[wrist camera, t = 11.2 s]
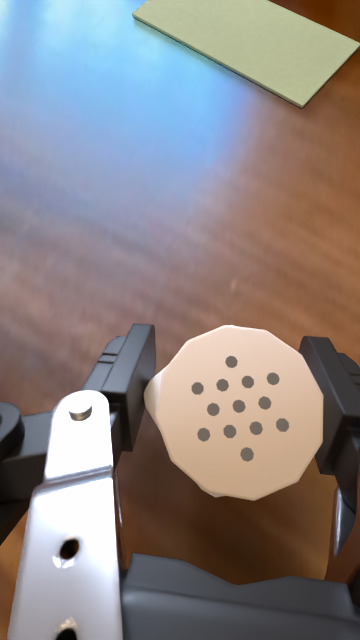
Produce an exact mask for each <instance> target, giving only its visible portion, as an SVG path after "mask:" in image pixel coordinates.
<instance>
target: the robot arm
mask: <svg viewBox="0 0 360 640" xmlns="http://www.w3.org/2000/svg"><path fill="white" fill-rule="evenodd" d="M298 353H300V354H301V355H302V356H303V358H304V360H305V362H306V364H307V365H308V367H309V369H310V371H311V373H312V375H313V377H314V379H315V381H316V382H317V384H318V386H319V388H320V390H321V392H322V394H323V443H322V444H321V446H320V447H319V449H318V451H317V452H316V454H315V455H314V456H315V459H316V462H317V466H318V469H319V472H320V474H327V475H335V477H336V480H337V483H338V485H337V487H336V489H335V492H334V498H333V511H332V523H331V536H330V548H329V560H328V566H327V571H326V575H325V578H324V580H317V579H310V578H303V577H296V576H287V577H282V578H277V579H271V580H266V581H261V582H255V583H250V584H245V585H234V584H232V583H229V582H227V581H225V580H223V579H221V578H219V577H217V576H215V575H213V574H210V573H208V572H206V571H204V570H202V569H200V568H198V567H196V566H194V565H192V564H190V563H187V562H185V561H183V560H179V559H172V558H165V557H158V556H151V555H144V554H137V553H132V555H131V560H130V564H129V569H127V563H126V554H125V546H124V536H123V526H122V514H121V503H120V491H119V480H118V469H117V464H118V461H119V458H120V455H121V452H122V451H128V452H132V451H133V447H134V444H135V440H136V437H137V433H138V430H139V427H140V423H141V420H142V416H143V413H144V409H145V402H144V395H143V393H144V391H145V389H146V387H147V385H148V383H149V381H150V380H151V379H152V378H153V377H154V374H155V368H156V346H155V327H154V325H148V324H133V325H132V327H131V329H130V331H129V333H128V335H127V337H126V336H117V337H116V338H115V339H113V340H112V341H110V342H109V343H108V344H107V346H106V347H105V349H104V351H103V352H102V355H101V356H100V358H99V359H98V363H96V365H95V366H94V368H93V370H92V371H91V373H90V375H89V377H88V378H87V380H86V382H85V383H84V385H83V387H82V389H81V390H80V392H76V393H73V394H71V395H68V396H67V397H65V398H64V399H62V400H61V401H60V402H59V403H58V404H57V405H56V407H55V408H54V410H53V411H49V412H44V413H38V414H32V415H25V416H21V414H20V412H19V409H18V408H17V407H16V406H15V405H13V404H11V403H6V402H0V546H1V544H2V543H3V542H4V540H5V539H6V538H7V536H8V535H9V534H10V532H11V531H12V530H13V528H14V527H15V526H16V524H17V523H18V522H19V520H20V519H21V518H22V516H23V515H24V514H25V512H26V511H27V510H28V509H29V512H28V518H27V523H26V529H25V535H24V541H23V547H22V553H21V559H20V565H19V571H18V577H17V583H16V589H15V594H14V600H13V606H12V612H11V618H10V624H9V630H8V636H7V640H360V368H359V366H358V365H357V363H355V362H354V361H353V360H352V359H350V358H349V357H348V356H347V355H345V354H344V353H337V351H336V350H335V348H334V346H333V344H332V343H331V341H330V339H329V338H326V337H312V336H304V337H303V338H302V341H301V344H300V348H299V352H298Z"/></svg>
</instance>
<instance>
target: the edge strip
mask: <svg viewBox="0 0 360 640" xmlns="http://www.w3.org/2000/svg"><path fill="white" fill-rule="evenodd" d="M132 16H133V17H134V18H136V19H138V20H140V21H142V22H144V23H145V24H147V25H149V26H151V27H153V28H155V29H157V30H158V31H160V32H162V33H164V34H166V35H168V36H169V37H171V38H173V39H175V40H177V41H179V42H180V43H182V44H184V45H186V46H188V47H190V48H192V49H193V50H195V51H197V52H199V53H201V54H203V55H204V56H206V57H208V58H210V59H212V60H214V61H215V62H217V63H219V64H221V65H223V66H225V67H226V68H228V69H230V70H232V71H234V72H236V73H238V74H239V75H241V76H243V77H245V78H247V79H249V80H250V81H252V82H254V83H256V84H258V85H260V86H261V87H263V88H265V89H267V90H269V91H271V92H273V93H274V94H276V95H278V96H280V97H282V98H284V99H285V100H287V101H289V102H291V103H293V104H295V105H296V106H298V107H300V108H303V107H304V106H305V105H306V104H307V103H308V101H309V100H310V99H311V98H312V97H313V96H314V95H315V94H316V93H317V92H318V91H319V90H320V89H321V88H322V87H323V85H324V84H325V83H326V82H327V81H328V80H329V79H330V78H331V77H332V76H333V75H334V74H335V73H336V72H337V71H338V70H339V68H340V67H341V66H342V65H343V64H344V63H345V62H346V61H347V60H348V59H349V58H350V57H351V56H352V55H353V54H354V52H355V51H356V50H357V49H358V48H359V47H360V43H358V42H356V41H354V40H352V39H350V38H348V37H345V36H343V35H341V34H339V33H337V32H335V31H332V30H330V29H328V28H326V27H324V26H322V25H319V24H317V23H315V22H313V21H311V20H308V19H306V18H304V17H302V16H300V15H298V14H295V13H293V12H291V11H289V10H287V9H285V8H282V7H280V6H278V5H276V4H274V3H272V2H269V1H267V0H147V1H146V2H145V3H144V4H143V5H141V6H140V7H139V8H138V9H137V10H136V11H134V12H133V13H132Z"/></svg>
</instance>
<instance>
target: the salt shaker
mask: <svg viewBox="0 0 360 640" xmlns="http://www.w3.org/2000/svg"><path fill="white" fill-rule="evenodd" d="M143 395H144V402H145V408H146V409H147V411H148V413H149V414H150V416H151V417H152V419H153V420H154V422H155V424H156V425H157V427H158V428H159V430H160V432H161V434H162V437H163V440H164V443H165V446H166V448H167V451H168V454H169V457H170V460H171V461H172V462H173V463H174V464H175V465H176V466H178V467H179V468H180V469H181V470H182V471H183V472H184V473H186V474H187V475H188V476H189V477H190V478H191V479H192V480H194V481H195V482H196V483H197V484H198V486H199V487H200V488H201V490H203V491H205V492H207V493H208V494H210V495H212V496H214V497H220V496H230V497H236V498H241V499H247V500H253V501H255V500H257V499H260V498H262V497H264V496H267V495H269V494H271V493H273V492H276V491H278V490H280V489H283V488H285V487H287V486H289V485H292V484H294V483H296V482H298V480H299V479H300V477H301V476H302V474H303V473H304V471H305V469H306V468H307V466H308V465H309V463H310V462H311V460H312V458H313V457H314V455H315V454H316V452H317V451H318V449H319V447H320V446H321V444H322V443H323V394H322V392H321V390H320V388H319V386H318V384H317V382H316V381H315V379H314V377H313V375H312V373H311V371H310V369H309V367H308V365H307V364H306V362H305V360H304V358H303V356H302V355H301V354H300V353H298V352H297V351H295V350H294V349H293V348H291V347H290V346H288V345H287V344H285V343H284V342H282V341H281V340H280V339H278V338H277V337H275V336H274V335H272V334H271V333H269V332H268V331H267V330H260V329H252V328H244V327H236V326H233V325H230V326H227V325H224V326H222V327H219V328H217V329H215V330H212V331H210V332H207V333H205V334H202V335H200V336H197V337H195V338H193V339H190V340H188V341H187V342H186V343H185V344H184V346H183V347H182V348H181V349H180V351H179V352H178V353H177V355H176V356H175V357H174V358H173V360H172V361H171V362H170V363H169V365H168V366H167V367H165V368H164V369H163V370H162V371H161V372H159V373H158V374H157V375H156V376H155V377H153V378H152V379H151V380H150V381H149V383H148V385H147V387H146V389H145V391H144V393H143Z"/></svg>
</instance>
